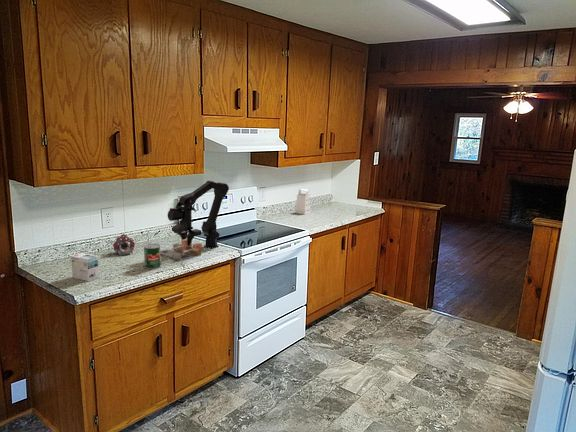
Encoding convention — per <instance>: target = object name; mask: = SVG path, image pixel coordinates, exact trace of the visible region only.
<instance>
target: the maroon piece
mask: <svg viewBox="0 0 576 432" xmlns="http://www.w3.org/2000/svg"><path fill="white" fill-rule="evenodd" d="M135 244H136V243H135V241H133V239H131V238H130V237H128V236H127V235H126V234H125V233H123V234H121V235H120V236H119V235H117V237H116V238H115V242H113V245H112V246H113V250H114V252H115V253H116V254H117V255H119V256H129V255H130V254H132V255H134V254H135V251H134V250H135Z"/></svg>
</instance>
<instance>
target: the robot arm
mask: <svg viewBox="0 0 576 432" xmlns="http://www.w3.org/2000/svg"><path fill="white" fill-rule="evenodd" d="M229 189H230V187H229V185H228V184H227V183H224V182H219V181H218V182H215V181H213V180H207V181H206V182H205V183H203V184H202V185H201V186H199V187H198V188H196V189H195V190H193V191H192V192H190V193H189V192H188V193H186V194H183V195H182V196H180V197H179V199H178V202H177V204H176V205H175V207H170V208H169V210H168V212H167V218H168V220H169V222H170V221H171V222H172V221H179V223H178V224H176V225H173V226H172V227H171V232H173V233H174V234H177V235H179V236H180V238H181V241H182V240H184V239H187V244H188V246H190V244H191V242H192V243H193V239H194V238H195V237H198V236H201V235H202V233H203V236H204V237H205V245H203V246H204V248H208V249H216V248H218V247H220V246H219V245H218V238H219V237H220V232H218V231H217V226H218V225H217V219H218V216H219V213H220V209H221V206H222V203H223V200H224V198H225V197H226V196H227V194H228V192H229ZM211 190H213V194H214V197H213V201H212V205H211V206H210V207H211V208H210V211H209V214H208V218H207V220H206V221H205V220H204V221H203V222H202V225H201V229H198V228H195V229H194V227H193V226H192V224H193V223H194V219H192V218H193V217H192V211H195V210H196V208H194V207H193V205H194V204H196V202H197V200H198V199H199V198H201V197H202V196H203V195H205V194H206V193H207V192H209V191H211Z"/></svg>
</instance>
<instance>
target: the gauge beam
mask: <svg viewBox="0 0 576 432" xmlns="http://www.w3.org/2000/svg"><path fill="white" fill-rule="evenodd" d="M172 245H173V246H172V248H173V247H177V246H181V245H182V243H181V244H180V243H179V242H178V243H173V244H172ZM202 250H203V243H201V242H196V243H192V247H186V250H184V251H183V252H182V247H180V248H177V249H174V251H177V252H180V253H181V252H182V254H183V256H185V255H186V254H187V255H192V256H196V257H199V256H202ZM185 252H186V253H185Z"/></svg>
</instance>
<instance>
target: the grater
mask: <svg viewBox="0 0 576 432" xmlns="http://www.w3.org/2000/svg"><path fill="white" fill-rule="evenodd" d="M302 190H303V191H305V193H302ZM295 201H296V202H295V205H294V206H295V207H294V214H298V215H299V214H300V215H307V214H311V212H312V211H311V199H310V194H309V190H308V189H305V188H301V189H299V190H298V194H297V195H296V200H295Z"/></svg>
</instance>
